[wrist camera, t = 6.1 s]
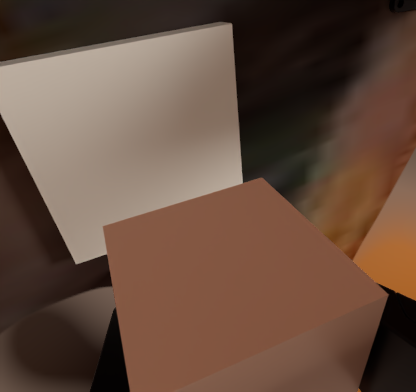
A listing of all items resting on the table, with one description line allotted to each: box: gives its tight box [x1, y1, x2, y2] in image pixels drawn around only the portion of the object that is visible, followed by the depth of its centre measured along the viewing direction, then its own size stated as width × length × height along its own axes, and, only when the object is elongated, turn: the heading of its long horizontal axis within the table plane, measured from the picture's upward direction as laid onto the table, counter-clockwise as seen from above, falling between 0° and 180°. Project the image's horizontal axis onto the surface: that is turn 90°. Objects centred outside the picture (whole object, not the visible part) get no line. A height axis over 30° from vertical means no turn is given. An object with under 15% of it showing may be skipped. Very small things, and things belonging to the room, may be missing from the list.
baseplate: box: [0, 22, 243, 264], centre depth 19 cm, size 12×12×2 cm
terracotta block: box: [103, 178, 389, 392], centre depth 9 cm, size 5×5×5 cm
